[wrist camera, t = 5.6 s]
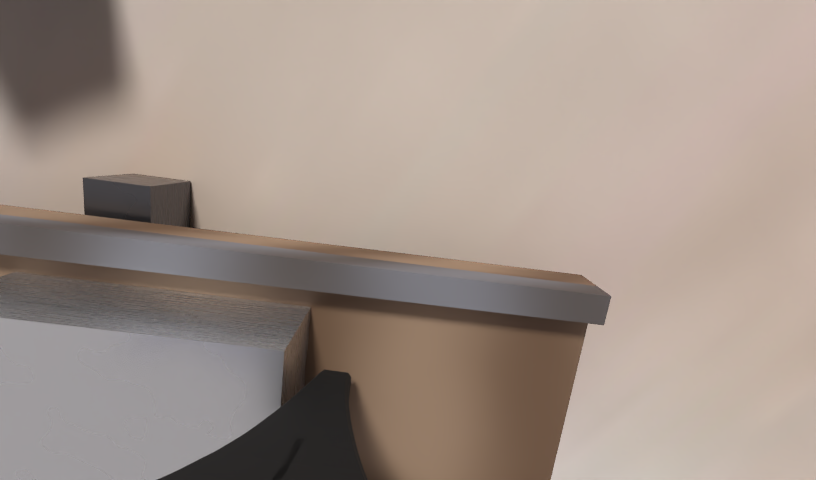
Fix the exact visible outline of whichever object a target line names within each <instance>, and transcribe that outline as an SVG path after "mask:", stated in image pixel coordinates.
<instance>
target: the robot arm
mask: <svg viewBox="0 0 816 480" xmlns="http://www.w3.org/2000/svg"><path fill="white" fill-rule="evenodd" d="M350 386H351V376H350V375H349V373H347V372H340V371H332V370H325V369H324V370H323V371H321V372H320V373H319V374H318V375H317V376H316V377H314V378H313V379H312V380H311V381H310V382H309V383H308V384H307V385H306V386H305V387H304V388H302V389H301V390H300V391H299V392H298V393H297V394H296V395H294V396H293V397H292V398H291V399H290V400H288V401H287V402H286V403H285V404H284V405H282V406H281V407H280V408H279V409H277V410H276V411H275V412H274V413H272V414H271V415H270V416H268V417H267V418H265V419H264V420H263V421H261V422H260V423H259V424H257V425H256V426H255V427H253V428H252V429H250V430H249V431H247V432H246V433H244V434H243V435H241V436H240V437H238V438H237V439H235V440H233V441H232V442H230V443H228V444H227V445H225V446H223V447H222V448H220V449H218V450H216V451H215V452H213V453H211V454H209V455H207V456H205V457H203V458H201V459H199V460H197V461H195V462H193V463H191V464H189V465H187V466H185V467H183V468H181V469H179V470H177V471H175V472H173V473H171V474H168V475H166V476H164V477H162V478H159V479H157V480H368V479H367V477H366V474H365V472H364V469H363V466H362V463H361V460H360V457H359V453H358V450H357V446H356V442H355V438H354V434H353V429H352V424H351V417H350V410H349V395H350Z"/></svg>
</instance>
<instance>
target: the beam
mask: <svg viewBox="0 0 816 480" xmlns="http://www.w3.org/2000/svg"><path fill="white" fill-rule="evenodd" d="M13 272H24V273H32V274H40V275H49V276H57V277H65V278H74V279H82V280H90V281H99V282H107V283H115V284H124V285H132V286H140V287H149V288H157V289H165V290H174V291H182V292H190V293H198V294H207V295H215V296H223V297H232V298H240V299H248V300H257V301H265V302H273V303H282V304H290V305H298V306H307V307H311V311H310V323H309V335H308V347H307V359H306V371H305V383H304V387H305V386H306V385H307V384H308V383H309V382H310V381H311V380H312V379H313V378H314V377H316V376H317V375H318V374H319V373H320V372H321V371H323V370H324V369H325V370H332V371H340V372H347V373H349V375H350V376H351V386H350V395H349V410H350V417H351V424H352V429H353V434H354V438H355V442H356V446H357V450H358V453H359V457H360V460H361V463H362V466H363V469H364V472H365V474H366V477H367V479H368V480H550V479H551V475H552V471H553V467H554V462H555V458H556V454H557V450H558V446H559V442H560V437H561V433H562V429H563V425H564V421H565V417H566V412H567V408H568V404H569V400H570V396H571V391H572V387H573V383H574V379H575V375H576V371H577V366H578V362H579V358H580V354H581V350H582V346H583V341H584V337H585V333H586V329H587V325H588V323H590V324H598V325H604V323H605V319H606V315H607V311H608V307H609V303H610V299H611V296H610V295H609V294H607V293H606V292H604V291H603V290H602V289H600V288H599V287H597V286H596V285H595V284H593V283H592V282H590V281H589V280H588V279H586V278H585V277H583V276H582V275H577V274H568V273H560V272H552V271H544V270H535V269H527V268H519V267H511V266H502V265H494V264H486V263H477V262H469V261H461V260H453V259H444V258H436V257H428V256H420V255H411V254H403V253H395V252H387V251H378V250H370V249H362V248H354V247H345V246H337V245H329V244H321V243H312V242H304V241H296V240H288V239H279V238H271V237H263V236H255V235H246V234H238V233H230V232H221V231H213V230H205V229H197V228H188V227H180V226H172V225H164V224H155V223H147V222H139V221H131V220H122V219H114V218H106V217H98V216H89V215H81V214H73V213H65V212H56V211H48V210H40V209H32V208H23V207H15V206H7V205H0V277H1V276H4V275H7V274H10V273H13Z"/></svg>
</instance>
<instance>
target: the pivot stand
mask: <svg viewBox="0 0 816 480" xmlns="http://www.w3.org/2000/svg"><path fill="white" fill-rule="evenodd" d="M83 190H84V211H85V215H89V216H98V217H106V218H114V219H122V220H131V221H139V222H147V223H155V224H164V225H172V226H180V227H188V228H190V181H184V180H176V179H169V178H161V177H153V176H146V175H138V174H124V175H111V176H98V177H85V178H83Z"/></svg>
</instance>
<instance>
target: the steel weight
mask: <svg viewBox="0 0 816 480" xmlns="http://www.w3.org/2000/svg"><path fill="white" fill-rule="evenodd" d="M310 311H311V307H307V306H298V305H290V304H282V303H273V302H265V301H257V300H248V299H240V298H232V297H223V296H215V295H207V294H198V293H190V292H182V291H174V290H165V289H157V288H149V287H140V286H132V285H124V284H115V283H107V282H99V281H90V280H82V279H74V278H65V277H57V276H49V275H40V274H32V273H24V272H13V273H10V274H7V275H4V276H1V277H0V480H157V479H159V478H162V477H164V476H166V475H168V474H171V473H173V472H175V471H177V470H179V469H181V468H183V467H185V466H187V465H189V464H191V463H193V462H195V461H197V460H199V459H201V458H203V457H205V456H207V455H209V454H211V453H213V452H215V451H216V450H218V449H220V448H222V447H223V446H225V445H227V444H228V443H230V442H232V441H233V440H235V439H237V438H238V437H240V436H241V435H243V434H244V433H246V432H247V431H249V430H250V429H252V428H253V427H255V426H256V425H257V424H259V423H260V422H261V421H263V420H264V419H265V418H267V417H268V416H270V415H271V414H272V413H274V412H275V411H276V410H277V409H279V408H280V407H281V406H282V405H284V404H285V403H286V402H287V401H288V400H290V399H291V398H292V397H293V396H294V395H296V394H297V393H298V392H299V391H300V390H301V389H302V388H304V383H305V371H306V359H307V347H308V335H309V323H310Z"/></svg>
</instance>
